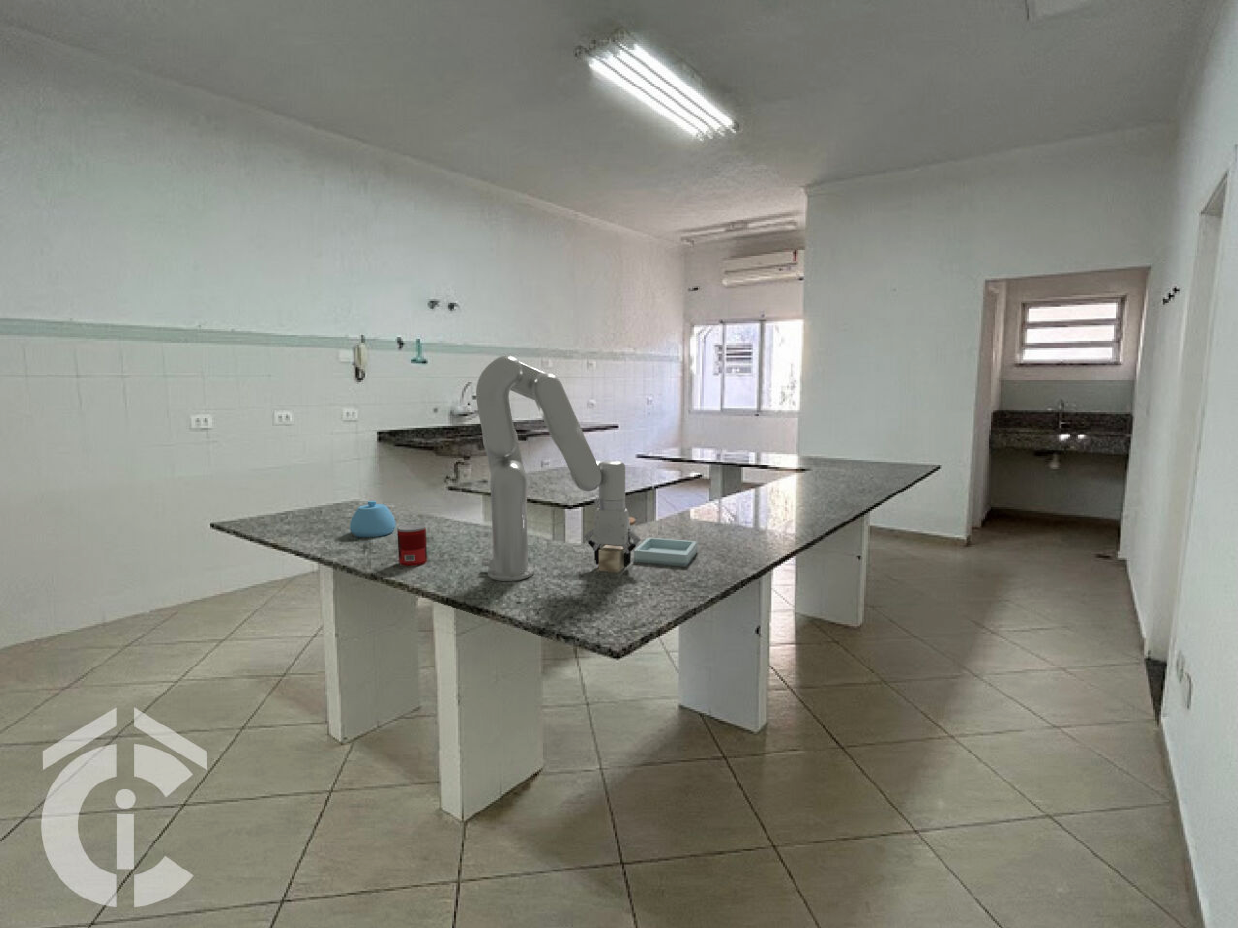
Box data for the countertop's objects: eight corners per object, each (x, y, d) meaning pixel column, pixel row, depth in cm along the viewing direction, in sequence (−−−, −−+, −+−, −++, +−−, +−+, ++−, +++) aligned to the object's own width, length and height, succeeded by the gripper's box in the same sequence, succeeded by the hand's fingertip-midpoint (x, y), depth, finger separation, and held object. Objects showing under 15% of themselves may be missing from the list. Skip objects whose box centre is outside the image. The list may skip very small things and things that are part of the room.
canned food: (432, 562, 184) (430, 526, 182) (407, 568, 178) (405, 531, 177) (419, 557, 189) (417, 522, 188) (394, 563, 183) (392, 526, 182)
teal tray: (633, 561, 184) (633, 550, 183) (648, 547, 199) (648, 537, 198) (686, 566, 179) (686, 555, 178) (697, 552, 194) (697, 541, 194)
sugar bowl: (341, 537, 213) (339, 504, 212) (366, 527, 228) (364, 496, 226) (381, 539, 211) (379, 506, 209) (403, 528, 225) (402, 497, 224)
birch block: (598, 570, 176) (598, 550, 175) (605, 564, 181) (605, 544, 181) (618, 572, 174) (618, 552, 173) (625, 566, 180) (625, 546, 179)
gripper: (578, 505, 174) (579, 565, 177) (637, 509, 169) (637, 571, 171) (588, 500, 181) (588, 558, 184) (645, 503, 176) (645, 563, 178)
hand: (612, 564), depth 178 cm, fingers open, 7 cm apart
